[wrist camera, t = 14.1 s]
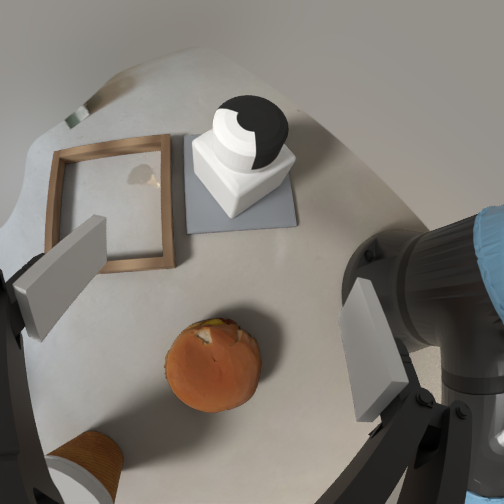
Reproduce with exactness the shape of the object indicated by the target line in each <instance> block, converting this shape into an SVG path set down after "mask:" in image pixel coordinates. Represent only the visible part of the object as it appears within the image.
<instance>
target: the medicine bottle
mask: <svg viewBox="0 0 504 504" xmlns="http://www.w3.org/2000/svg"><path fill="white" fill-rule="evenodd" d="M287 135H288V122H287V119H286V117H285V115H284V114H283V112H282V111H281V110H280V109H279V108H278V107H277V106H276V105H275V104H274V103H272V102H270V101H269V100H267V99H265V98H262V97H258V96H252V95H245V96H238V97H234V98H232V99H229V100H227V101H226V102H224V103H223V104H222V105H221V106H220V107H219V108H218V109H217V111H216V113H215V116H214V119H213V129H211V130H209V131H208V132H206V133H204V134H202V135H201V136H199V137H197V138H196V139H194V140H193V141H192V149H193V163H194V172H195V174H196V175H197V176H198V178H199V179H200V180H201V182H202V183H203V184H204V185H205V187H206V188H207V189H208V191H209V192H210V193H211V194H212V196H213V197H214V198H215V200H216V201H217V202H218V203H219V205H220V206H221V207H222V209H223V210H224V211H225V212H226V214H227V215H228V216H229V217H230V218H235V217H236V216H237V215H239V214H240V213H242V212H243V211H244V210H246V209H247V208H249V207H250V206H251V205H253V204H254V203H256V202H257V201H259V200H260V199H261V198H263V197H264V196H266V195H267V194H269V193H270V192H272V191H273V190H274V189H276V188H277V187H279V186H280V185H281V183H282V181H283V180H284V178H285V177H286V175H287V173H288V172H289V170H290V169H291V167H292V165H293V164H294V162H295V161H296V157H295V155H294V154H293V153H292V152H291V151H290V150H289V149H288V147H287V146H286V145H285V144H284V142H285V140H286V138H287Z"/></svg>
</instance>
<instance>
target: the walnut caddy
mask: <svg viewBox="0 0 504 504" xmlns="http://www.w3.org/2000/svg"><path fill="white" fill-rule="evenodd" d="M160 150H161V220H162V245H163V257H153V258H141V259H129V260H116V261H107V263H106V264H105V265H104V266H103V267H102V268H101V270H100V271H99V272H98V273H97V274H105V273H119V272H132V271H145V270H158V269H171V268H176V266H175V250H174V232H173V209H172V142H171V137H170V134H163V135H153V136H144V137H136V138H128V139H121V140H114V141H108V142H101V143H95V144H90V145H84V146H79V147H73V148H68V149H64V150H59V151H54V154H53V160H52V166H51V173H50V181H49V189H48V199H47V210H46V224H45V253H47V252H48V251H50V250H51V249H52V248H53V247H54V246H56V245H57V244H58V243H59V238H60V215H61V201H62V190H63V180H64V172H65V164H69V163H74V162H80V161H85V160H91V159H98V158H104V157H111V156H118V155H125V154H133V153H142V152H151V151H160Z"/></svg>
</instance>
